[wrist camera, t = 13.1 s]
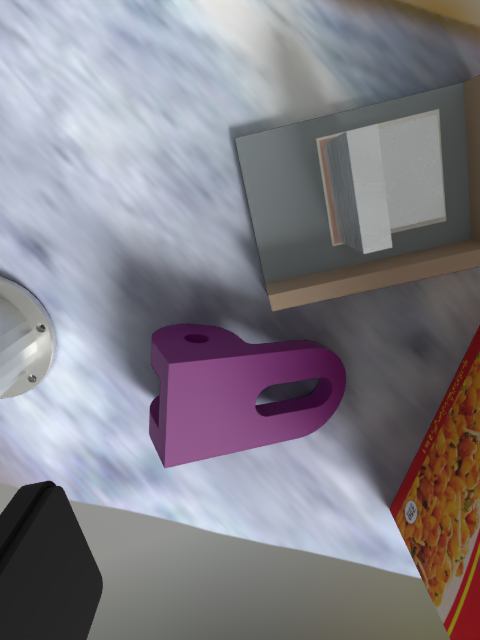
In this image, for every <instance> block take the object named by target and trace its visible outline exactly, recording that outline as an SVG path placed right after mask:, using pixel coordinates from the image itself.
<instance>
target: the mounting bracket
mask: <svg viewBox="0 0 480 640" xmlns="http://www.w3.org/2000/svg"><path fill="white" fill-rule="evenodd" d="M151 366H152V368H153V369H154V371H155V373H156V374H157V376H158V377H159V379H160V395H159V396H157V397H156V398H155V399H154V400H153V401H152V403H151V405H150V419H149V435H150V437H151V440H152V442H153V444H154V446H155V449H156V451H157V453H158V455H159V457H160V460H161V462H162V464H163V466H164V468H168V467H173V466H177V465H181V464H186V463H190V462H195V461H199V460H204V459H208V458H213V457H217V456H221V455H226V454H230V453H235V452H239V451H244V450H248V449H252V448H257V447H261V446H266V445H270V444H275V443H279V442H283V441H288V440H292V439H297V438H301V437H304V436H307V435H309V434H311V433H313V432H314V431H316V430H317V429H319V428H320V427H321V426H323V425H324V424H325V423H326V422H327V421H328V420H329V419H330V417H331V416H332V415H333V414H334V412H335V411H336V409H337V407H338V406H339V404H340V402H341V399H342V397H343V394H344V390H345V384H346V374H345V369H344V366H343V363H342V362H341V360H340V359H339V357H338V356H337V355H336V354H334V353H333V352H331V351H330V350H328V349H326V348H325V347H323V346H322V345H320V344H318V343H316V342H314V341H310V340H295V341H284V342H274V343H264V344H248V343H246V342H244V341H243V340H242V339H240V338H239V337H238V336H237V335H235V334H234V333H232V332H230V331H228V330H226V329H223V328H220V327H216V326H207V325H196V324H177V325H171V326H167V327H163V328H161V329H159V330H157V331H155V332H154V333H153V335H152V348H151ZM315 378H319V383H318V386H317V388H316V389H315V391H314V392H313V393H311V394H310V395H308V396H306V397H302V398H296V399H290V400H284V401H279V402H273V403H267V404H261V405H255V403H256V399H257V397H258V395H259V394H260V392H261V391H262V390H263V389H265V388H266V387H268V386H270V385H275V384H282V383H288V382H295V381H302V380H308V379H315Z"/></svg>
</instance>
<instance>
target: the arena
mask: <svg viewBox="0 0 480 640" xmlns="http://www.w3.org/2000/svg"><path fill="white" fill-rule="evenodd" d="M436 114H437V117H438V130H439V143H440V156H441V169H442V182H443V195H444V208H445V217H440V218H436V219H432V220H428V221H423V222H419V223H415V224H411V225H407V226H402V227H398V228H394V229H390V231H391V240H392V248H388V249H384V250H379V251H375V252H371V253H366V254H363V253H361V252H359V251H357V250H355V249H353V248H351V247H349V246H348V245H346V244H344V243H342V242H340V241H338V240H337V237H336V231H335V224H334V218H333V212H332V206H331V199H330V193H329V187H328V181H327V174H326V168H325V162H324V156H323V150H322V144H323V143H325V142H327V141H329V140H331V139H333V138H335V137H337V136H339V135H341V134H343V133H345V132H347V131H351V130H355V129H359V128H363V127H366V126H370V125H374V124H378V129H381V128H385V127H389V126H393V125H397V124H401V123H405V122H409V121H413V120H416V119H420V118H424V117H428V116H432V115H436ZM235 142H236V147H237V152H238V156H239V161H240V166H241V171H242V175H243V180H244V185H245V190H246V194H247V199H248V204H249V209H250V213H251V218H252V223H253V228H254V232H255V237H256V242H257V247H258V251H259V256H260V261H261V266H262V270H263V275H264V280H265V285H266V289H267V294H268V298H269V302H270V306H271V309H272V311H277V310H281V309H286V308H291V307H295V306H300V305H305V304H309V303H314V302H319V301H323V300H328V299H332V298H337V297H342V296H346V295H351V294H356V293H360V292H365V291H370V290H374V289H379V288H383V287H388V286H393V285H397V284H402V283H407V282H411V281H416V280H421V279H425V278H430V277H434V276H439V275H444V274H448V273H453V272H458V271H462V270H467V269H472V268H476V267H480V75H478V76H476V77H474V78H472V79H470V80H467V81H465V82H462V83H458V84H454V85H450V86H446V87H442V88H438V89H434V90H430V91H426V92H422V93H418V94H414V95H409V96H405V97H401V98H397V99H393V100H389V101H385V102H381V103H377V104H373V105H369V106H365V107H360V108H356V109H352V110H348V111H344V112H340V113H336V114H332V115H328V116H324V117H320V118H316V119H312V120H307V121H303V122H299V123H295V124H291V125H287V126H283V127H279V128H275V129H271V130H267V131H263V132H258V133H254V134H250V135H246V136H242V137H238V138H235Z"/></svg>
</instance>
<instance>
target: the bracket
mask: <svg viewBox="0 0 480 640" xmlns="http://www.w3.org/2000/svg"><path fill="white" fill-rule="evenodd" d="M322 150H323V156H324V162H325V168H326V174H327V181H328V187H329V193H330V199H331V206H332V212H333V218H334V224H335V231H336V237H337V240H338V241H340V242H342V243H344V244H346V245H348V246H349V247H351V248H353V249H355V250H357V251H359V252H361V253H363V254H366V253H371V252H375V251H379V250H384V249H388V248H392V240H391V231H390V229H394V228H398V227H402V226H407V225H411V224H415V223H419V222H423V221H428V220H432V219H436V218H440V217H445V208H444V195H443V182H442V169H441V156H440V143H439V130H438V117H437V114H436V115H432V116H428V117H424V118H420V119H416V120H413V121H409V122H405V123H401V124H397V125H393V126H389V127H385V128H381V129H378V124H374V125H370V126H366V127H363V128H359V129H355V130H351V131H347V132H345V133H343V134H341V135H339V136H337V137H335V138H333V139H331V140H329V141H327V142H325V143H323V144H322Z"/></svg>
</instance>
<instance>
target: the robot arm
mask: <svg viewBox="0 0 480 640" xmlns="http://www.w3.org/2000/svg"><path fill="white" fill-rule="evenodd" d="M43 325H44V326H45V327H44V326H43ZM56 352H57V339H56V332H55V329H54V326H53V323H52V320H51V318H50V317H49V315H48V313H47V311H46V309H45V308H44V307H43V306H42V304H41V303H40V302H39V301H38V299H37V298H35V297H34V296H33V295H32V294H31V293H30V292H29V291H28V290H26V289H25V288H23V287H22V286H20V285H19V284H17V283H15V282H13V281H11V280H8V279H6V278H4V277H1V276H0V399H3V398H12V397H15V396H19V395H22V394H24V393H26V392H28V391H30V390H32V389H33V388H34V387H35V386H37V385H38V384H39V383H40V382H41V381H42V380H43V379H44V378H45V377H46V376H47V375H48V373H49V371H50V370H51V368H52V366H53V364H54V361H55V357H56ZM102 588H103V582H102V576H101V574H100V571H99V569H98V566H97V564H96V562H95V560H94V557H93V555H92V553H91V551H90V549H89V546H88V544H87V541H86V539H85V537H84V535H83V533H82V530H81V528H80V526H79V523H78V521H77V519H76V517H75V514H74V512H73V510H72V507H71V505H70V503H69V501H68V498H67V496H66V494H65V491H64V490H63V488H62V487H60V486H56V485H55V483H53V482H52V481H45V482H39V483H34V484H29V485H25V486H22V487H21V488H20V489H19V490H18V491H17V493H16V494H15V495H14V497H13V498H12V500H11V501H10V502H9V504H8V505H7V507H6V508H5V509H4V511H3V512H2V513H1V515H0V640H86V639H87V637H88V634H89V631H90V628H91V625H92V622H93V619H94V615H95V612H96V609H97V606H98V603H99V601H100V598H101V594H102Z"/></svg>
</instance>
